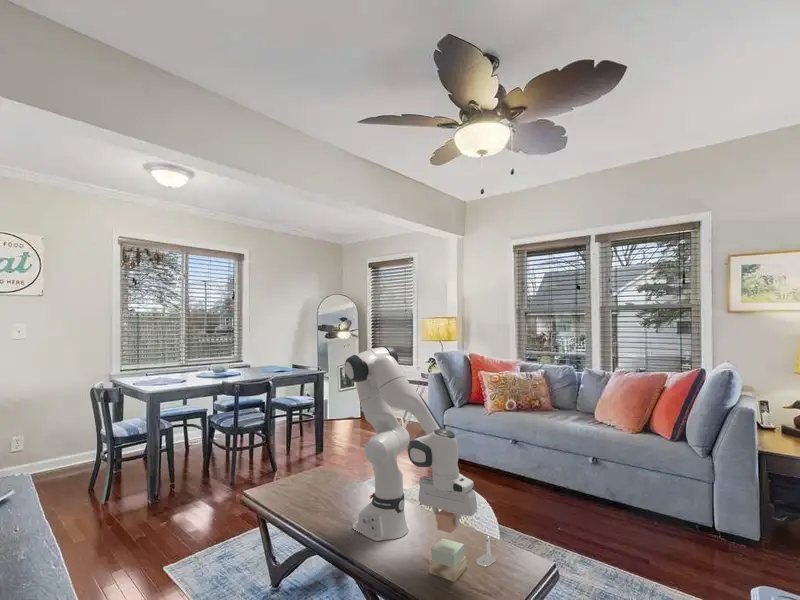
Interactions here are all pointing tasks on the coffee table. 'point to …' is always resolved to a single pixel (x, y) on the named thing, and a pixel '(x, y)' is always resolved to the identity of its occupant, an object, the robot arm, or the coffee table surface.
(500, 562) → the coffee table surface
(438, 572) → the tower base
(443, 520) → the terracotta block
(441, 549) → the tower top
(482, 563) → the stand
